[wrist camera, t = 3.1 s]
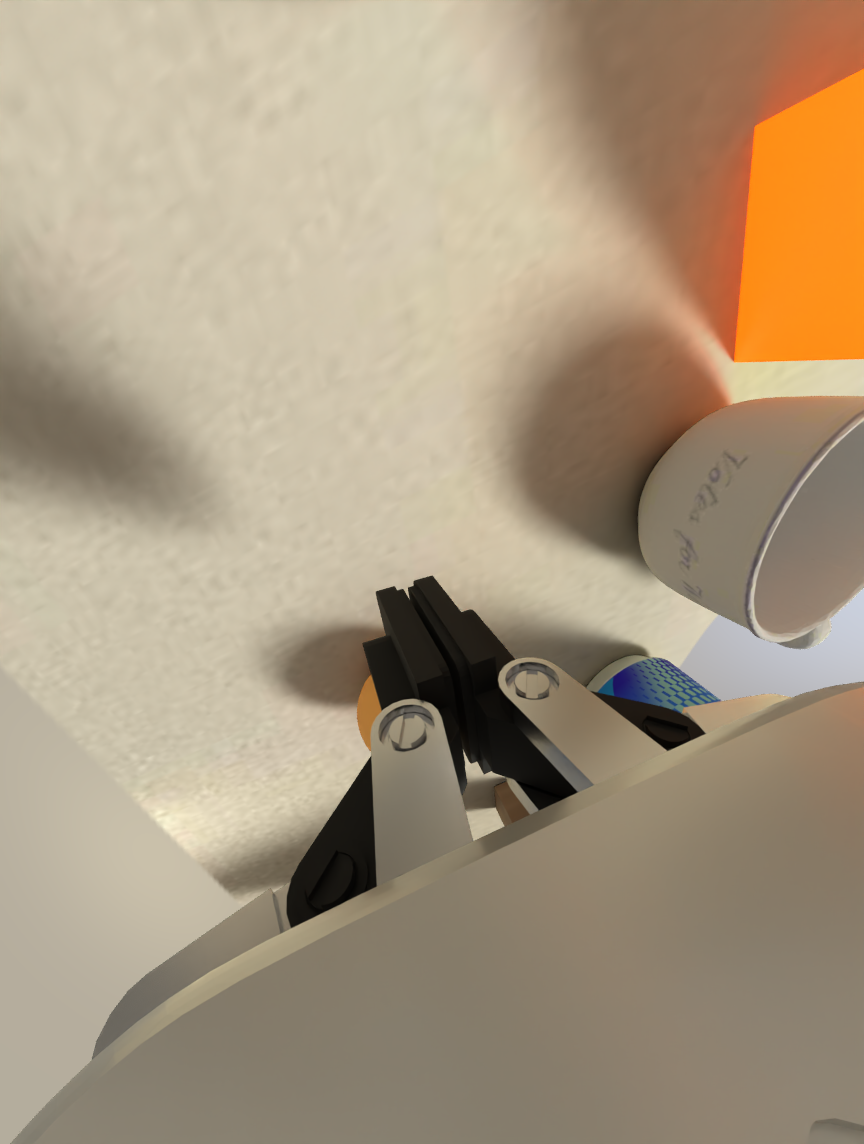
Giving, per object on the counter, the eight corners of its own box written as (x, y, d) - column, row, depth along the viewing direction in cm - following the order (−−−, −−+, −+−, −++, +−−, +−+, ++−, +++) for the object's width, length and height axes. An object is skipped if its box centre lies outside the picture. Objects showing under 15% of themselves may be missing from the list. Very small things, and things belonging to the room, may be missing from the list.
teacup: (604, 428, 19) (780, 458, 12) (774, 358, 20) (1015, 350, 14) (611, 632, 26) (724, 721, 19) (736, 569, 28) (881, 631, 21)
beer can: (559, 741, 30) (781, 1039, 17) (584, 656, 26) (897, 950, 13) (641, 718, 33) (890, 959, 19) (675, 638, 29) (1012, 867, 16)
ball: (338, 651, 19) (355, 737, 15) (439, 619, 21) (483, 690, 16) (361, 722, 22) (381, 814, 18) (449, 691, 23) (489, 769, 19)
